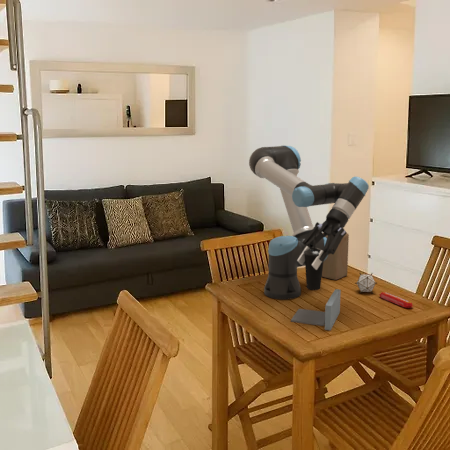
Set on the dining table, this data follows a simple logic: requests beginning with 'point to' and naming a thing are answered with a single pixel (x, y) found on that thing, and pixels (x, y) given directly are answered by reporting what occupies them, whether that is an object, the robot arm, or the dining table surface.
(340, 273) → the wooden block
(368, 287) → the game die
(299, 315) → the rubber mat
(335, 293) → the low wall
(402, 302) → the candy bar
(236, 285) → the dining table surface
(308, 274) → the drinking cup
